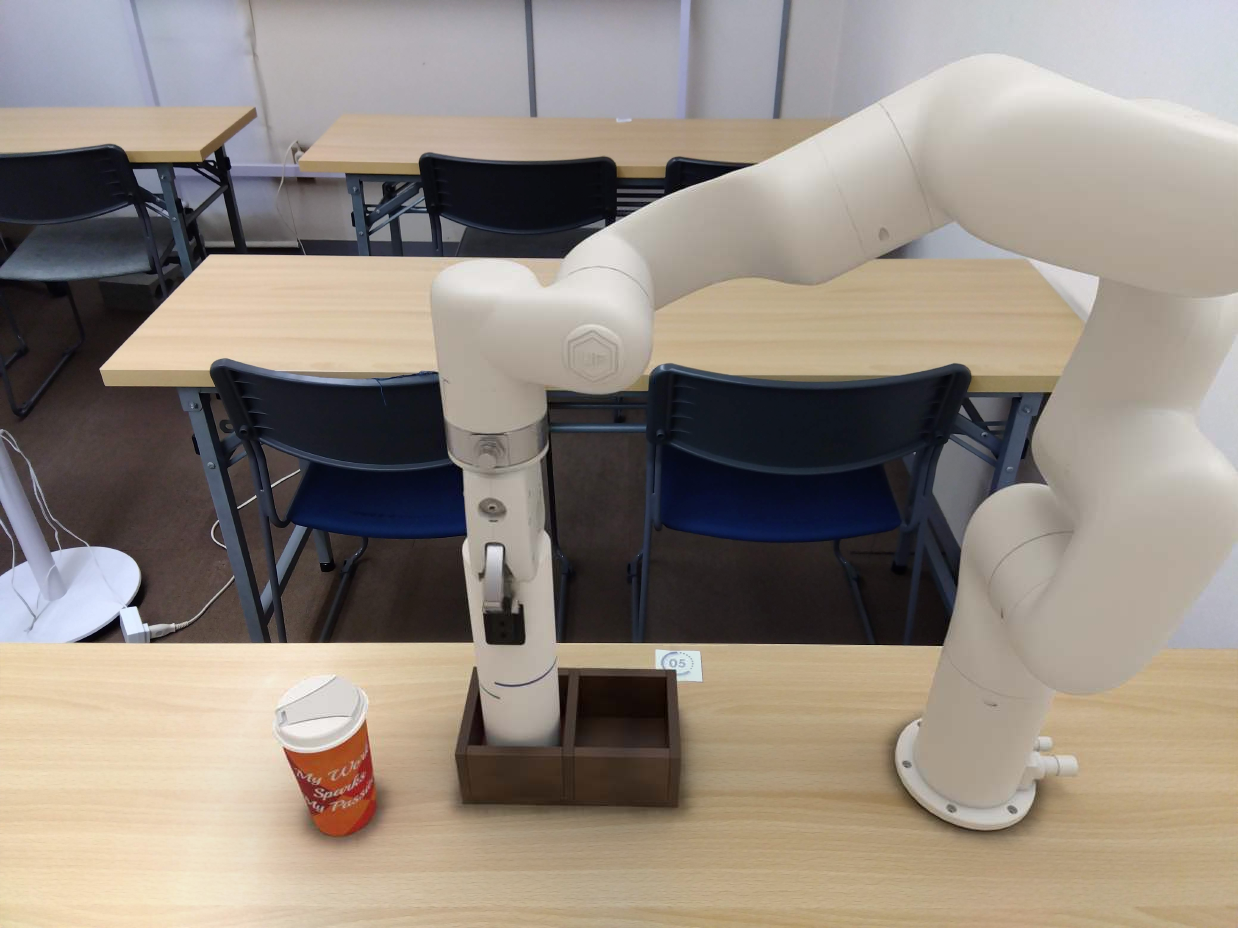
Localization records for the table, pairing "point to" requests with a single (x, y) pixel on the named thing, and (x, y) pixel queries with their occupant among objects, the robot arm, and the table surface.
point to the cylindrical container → (519, 663)
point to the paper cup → (329, 751)
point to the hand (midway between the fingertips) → (511, 608)
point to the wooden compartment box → (583, 745)
